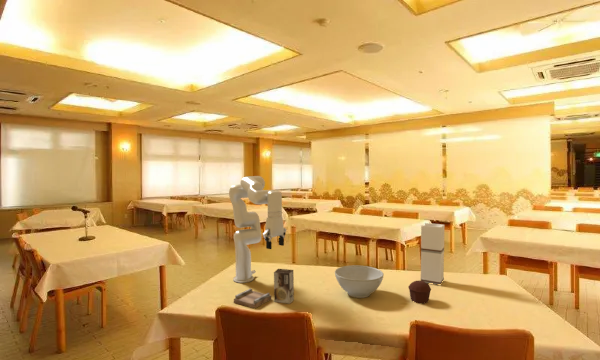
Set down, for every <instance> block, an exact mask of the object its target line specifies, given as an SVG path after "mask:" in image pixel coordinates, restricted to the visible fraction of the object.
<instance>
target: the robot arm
mask: <svg viewBox="0 0 600 360" xmlns="http://www.w3.org/2000/svg"><path fill="white" fill-rule="evenodd" d="M265 184H266V181H265V179H264V178H263V177H262V176H260V175H254V176H253V175H252V176H251V175H250V176H245V177H243V178H241V180H240V184H235V185H231V186H230V187H229V190H228V196H229V197H228V198H229V200H230V203H231V205H232V213H233V220H234V225H235V227H236V228H246V229H239V230H236V231H235V232H234V234H233V241H234V250H235V252H234V253H235V254H234V255H235V276H234V277H233V280H232V281H233V282H235V283H238V284H239V283H240V284H244V283H249V282H252V281H253V280H254V278H255V277H254V276H253V274H255V273H256V270H255V269H254V270H252V253H251V249H250V248H249V246H248V245H252V244H253V245H254V244H258V243H260V242H261V241H262V236H263V239H264V240H265V242H266V243H265V244H266V245H265V246H266V247H265V248H266V249H267V250H272V247H273V246H272V244H273V243H272V239H273V238H275V237H278V246H282V247H283V246H284V245H285V238H286V237H285V236H286V234H287V228H286V227H284V218H283V200H282V199H283V195H282V192H281V191H279V190H274V189H264V188H265ZM246 198H247V199H248V200H249V201H250V203H253V204H254V205H267V217H266V219H265V229H264V232H263V233H262V229H261V222H260V221H261V220H260V216H259V213H258V212H256V211H248V209H247V204H246V202H245V201H244V200H243V199H246Z"/></svg>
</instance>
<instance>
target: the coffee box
mask: <svg viewBox="0 0 600 360" xmlns="http://www.w3.org/2000/svg"><path fill="white" fill-rule="evenodd" d="M294 279H295V278H294V269H287V268H277V269H276V270H275V271H274V272H273V283H274V284H273V287H274V290H273V296H274V300H273V302H275V303H282V304H288V305H289V304H291V303H292V302H293V301H294V300H295V299H294V298H295V297H294V296H295V293H294V291H295V290H294V288H295V287H294V285H295V283H294V282H295V281H294Z"/></svg>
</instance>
